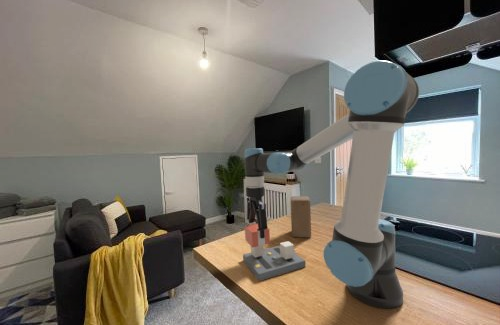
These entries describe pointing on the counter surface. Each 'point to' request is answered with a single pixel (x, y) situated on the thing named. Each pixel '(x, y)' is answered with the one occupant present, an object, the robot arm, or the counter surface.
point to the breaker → (287, 250)
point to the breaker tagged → (257, 251)
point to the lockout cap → (255, 235)
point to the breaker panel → (272, 263)
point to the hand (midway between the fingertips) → (257, 241)
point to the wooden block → (300, 216)
